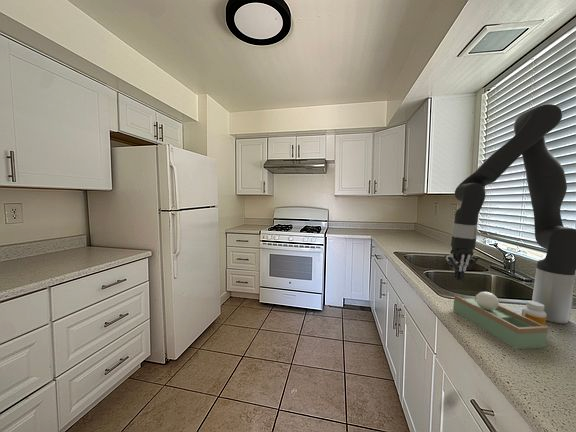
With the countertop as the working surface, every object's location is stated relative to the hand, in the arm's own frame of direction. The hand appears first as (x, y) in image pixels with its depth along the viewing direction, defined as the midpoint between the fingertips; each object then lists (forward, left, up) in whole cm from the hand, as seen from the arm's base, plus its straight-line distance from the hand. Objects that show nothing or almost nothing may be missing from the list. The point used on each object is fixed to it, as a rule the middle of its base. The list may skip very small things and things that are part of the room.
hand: (458, 279), depth 92 cm
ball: (0, +12, -3) cm, 12 cm away
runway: (0, +15, -11) cm, 18 cm away
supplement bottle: (-10, +19, -11) cm, 24 cm away
